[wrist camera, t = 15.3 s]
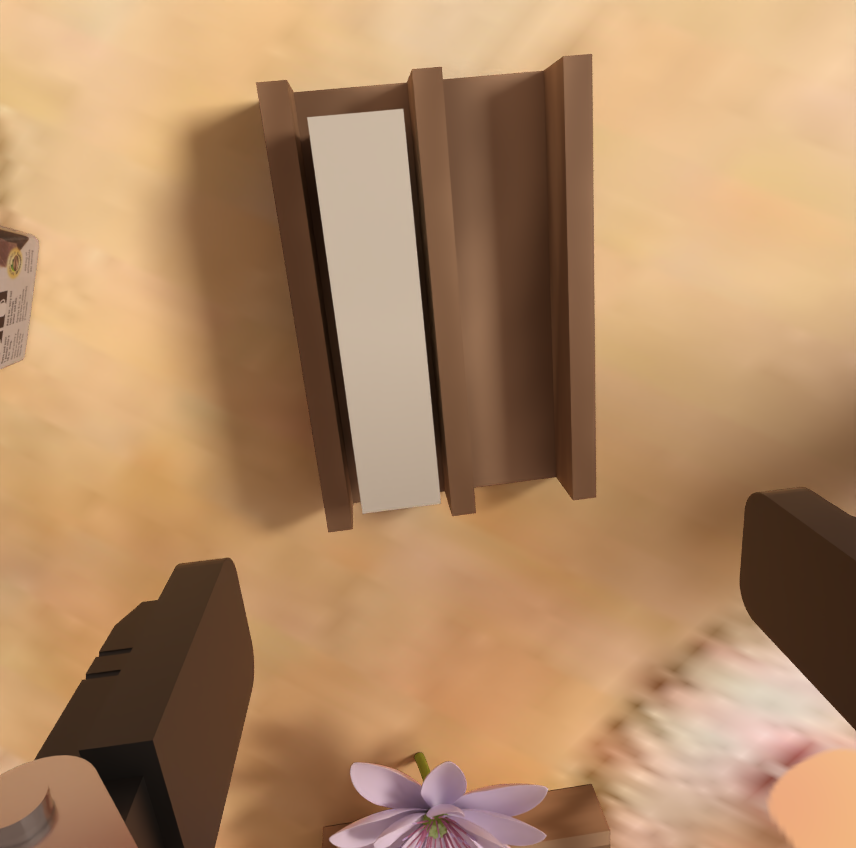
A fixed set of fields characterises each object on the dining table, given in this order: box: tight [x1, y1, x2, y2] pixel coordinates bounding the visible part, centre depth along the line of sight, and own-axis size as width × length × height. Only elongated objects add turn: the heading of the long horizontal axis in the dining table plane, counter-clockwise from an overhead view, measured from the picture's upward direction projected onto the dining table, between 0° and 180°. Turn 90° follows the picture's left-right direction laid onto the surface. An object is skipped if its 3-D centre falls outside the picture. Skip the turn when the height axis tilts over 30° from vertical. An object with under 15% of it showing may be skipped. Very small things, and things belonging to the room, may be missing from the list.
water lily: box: [329, 753, 548, 848], centre depth 38 cm, size 15×15×9 cm
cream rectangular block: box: [307, 109, 441, 514], centre depth 29 cm, size 4×16×6 cm, turn 5°
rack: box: [256, 54, 596, 532], centre depth 31 cm, size 14×20×4 cm
